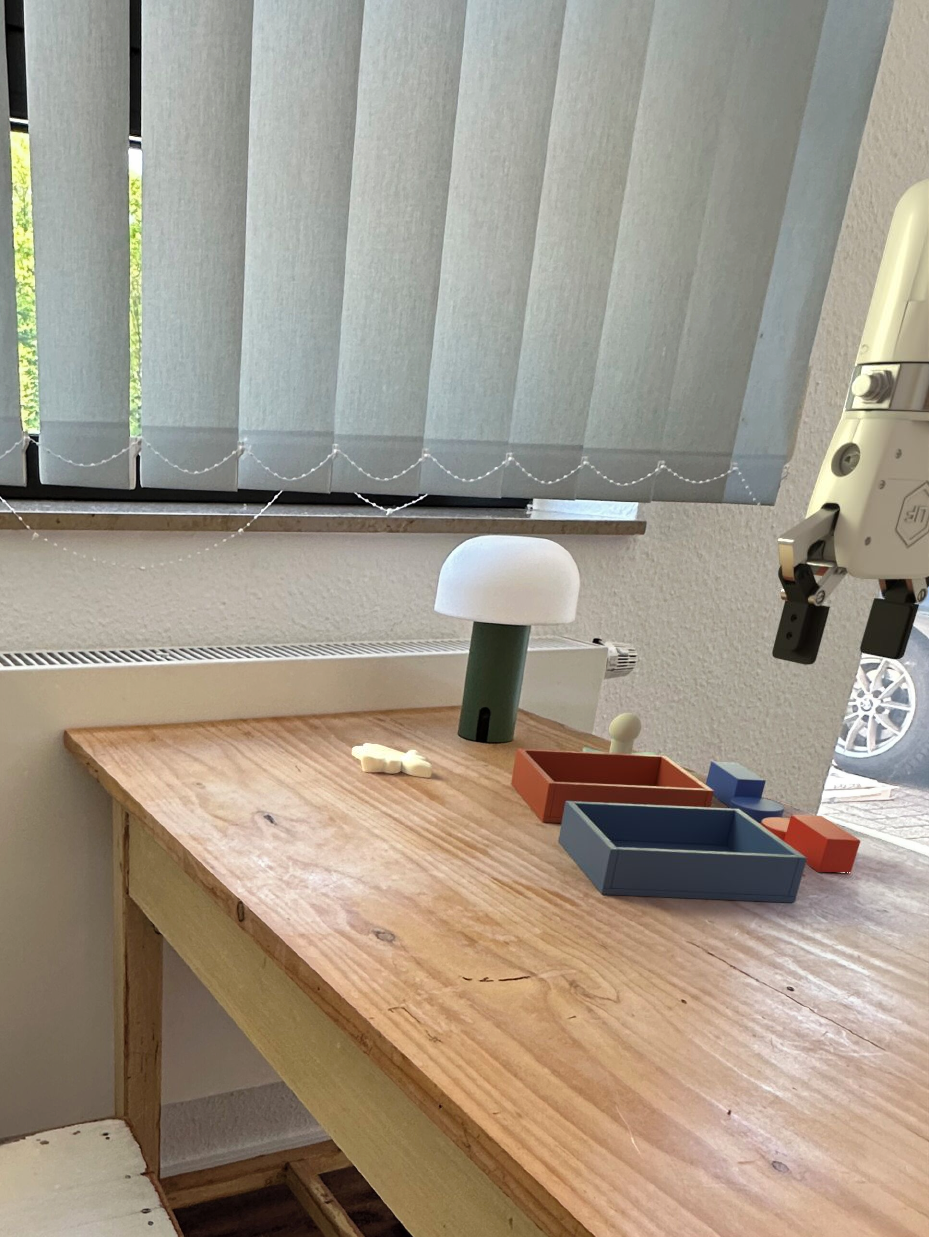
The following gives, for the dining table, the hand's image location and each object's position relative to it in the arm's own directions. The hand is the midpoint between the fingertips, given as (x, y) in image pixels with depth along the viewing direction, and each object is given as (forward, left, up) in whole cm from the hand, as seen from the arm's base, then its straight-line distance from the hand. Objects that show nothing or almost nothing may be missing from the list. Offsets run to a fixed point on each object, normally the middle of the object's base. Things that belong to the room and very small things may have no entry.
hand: (837, 658), depth 78 cm
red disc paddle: (-4, -4, -16) cm, 17 cm away
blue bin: (+10, +2, -16) cm, 19 cm away
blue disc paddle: (-4, -16, -16) cm, 23 cm away
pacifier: (+5, -26, -16) cm, 31 cm away
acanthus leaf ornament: (+28, -24, -16) cm, 40 cm away
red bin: (+10, -14, -16) cm, 23 cm away
